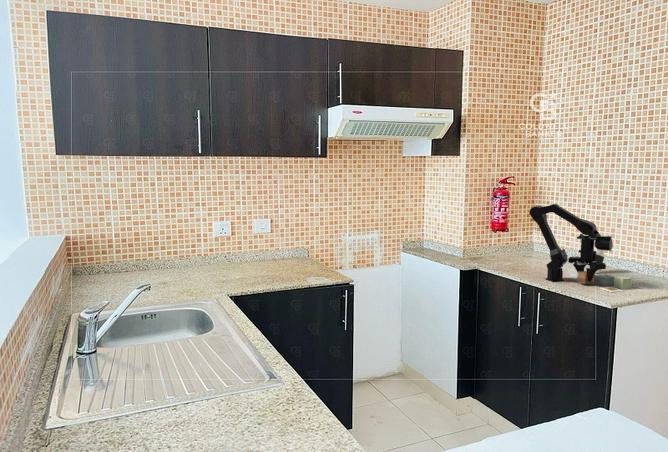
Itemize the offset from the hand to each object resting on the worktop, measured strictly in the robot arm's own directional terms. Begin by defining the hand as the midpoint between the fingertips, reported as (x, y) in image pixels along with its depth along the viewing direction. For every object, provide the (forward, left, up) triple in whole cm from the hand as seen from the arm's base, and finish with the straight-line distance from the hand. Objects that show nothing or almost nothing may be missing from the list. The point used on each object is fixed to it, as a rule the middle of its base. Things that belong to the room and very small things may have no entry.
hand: (585, 280), depth 242 cm
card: (+4, -12, -2) cm, 13 cm away
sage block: (+12, -10, -2) cm, 16 cm away
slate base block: (+10, -1, -2) cm, 10 cm away
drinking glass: (+24, +20, -2) cm, 31 cm away
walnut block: (0, 0, -1) cm, 1 cm away
